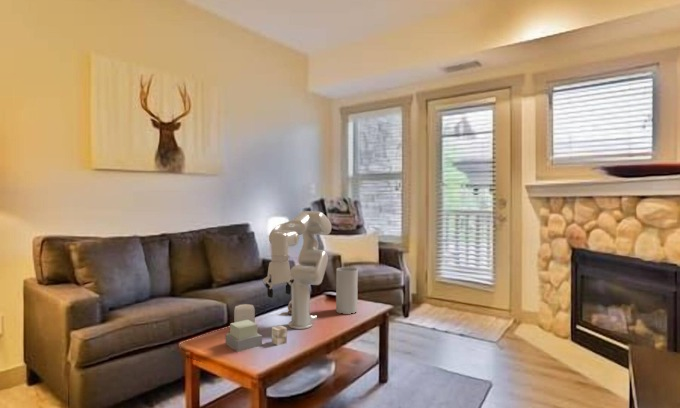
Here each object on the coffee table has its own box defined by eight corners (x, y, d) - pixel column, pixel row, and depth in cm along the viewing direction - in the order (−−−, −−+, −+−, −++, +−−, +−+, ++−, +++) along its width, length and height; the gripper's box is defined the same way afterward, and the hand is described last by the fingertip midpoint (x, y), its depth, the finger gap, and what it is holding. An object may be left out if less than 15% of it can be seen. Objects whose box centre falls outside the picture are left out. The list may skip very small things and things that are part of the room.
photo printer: (234, 330, 209) (234, 306, 209) (234, 327, 214) (234, 303, 213) (254, 329, 212) (255, 305, 212) (254, 326, 216) (254, 302, 216)
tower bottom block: (249, 339, 199) (249, 328, 199) (261, 346, 190) (261, 335, 190) (225, 344, 191) (225, 334, 191) (237, 352, 182) (237, 341, 182)
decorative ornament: (285, 312, 241) (285, 286, 241) (297, 310, 245) (298, 285, 245) (291, 316, 235) (291, 289, 234) (303, 314, 239) (303, 288, 238)
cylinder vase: (336, 308, 251) (337, 267, 251) (357, 308, 251) (357, 267, 250) (335, 314, 239) (336, 271, 238) (357, 314, 238) (357, 271, 238)
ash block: (280, 340, 197) (280, 325, 197) (286, 343, 193) (286, 328, 193) (271, 342, 194) (271, 327, 194) (277, 345, 190) (277, 330, 190)
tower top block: (247, 330, 196) (247, 319, 196) (257, 335, 190) (257, 324, 189) (230, 334, 191) (230, 323, 190) (239, 339, 184) (239, 328, 184)
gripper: (290, 256, 201) (290, 291, 201) (258, 259, 189) (258, 296, 190) (299, 258, 195) (299, 294, 195) (267, 261, 184) (267, 300, 184)
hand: (279, 295), depth 193 cm, fingers open, 9 cm apart
